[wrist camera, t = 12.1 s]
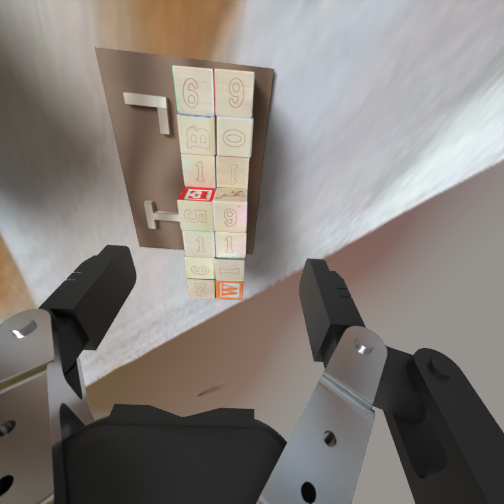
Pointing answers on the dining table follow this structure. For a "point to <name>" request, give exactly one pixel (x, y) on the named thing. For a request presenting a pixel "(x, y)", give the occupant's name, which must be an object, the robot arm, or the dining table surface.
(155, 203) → the board
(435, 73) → the dining table surface
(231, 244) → the stack of blocks
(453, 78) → the dining table surface
